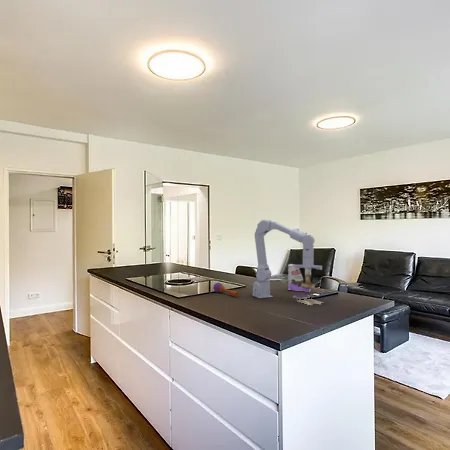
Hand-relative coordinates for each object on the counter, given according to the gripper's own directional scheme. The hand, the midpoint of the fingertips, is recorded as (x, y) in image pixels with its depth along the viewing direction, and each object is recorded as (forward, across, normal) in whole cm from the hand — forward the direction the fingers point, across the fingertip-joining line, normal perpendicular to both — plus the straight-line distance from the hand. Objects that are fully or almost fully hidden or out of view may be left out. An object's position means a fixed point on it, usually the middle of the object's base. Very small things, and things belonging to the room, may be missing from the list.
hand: (307, 282), depth 174 cm
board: (+10, +1, -3) cm, 11 cm away
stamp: (+3, 0, 0) cm, 3 cm away
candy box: (+10, -8, +28) cm, 31 cm away
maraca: (+11, -47, 0) cm, 48 cm away
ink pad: (+10, -4, +7) cm, 13 cm away
